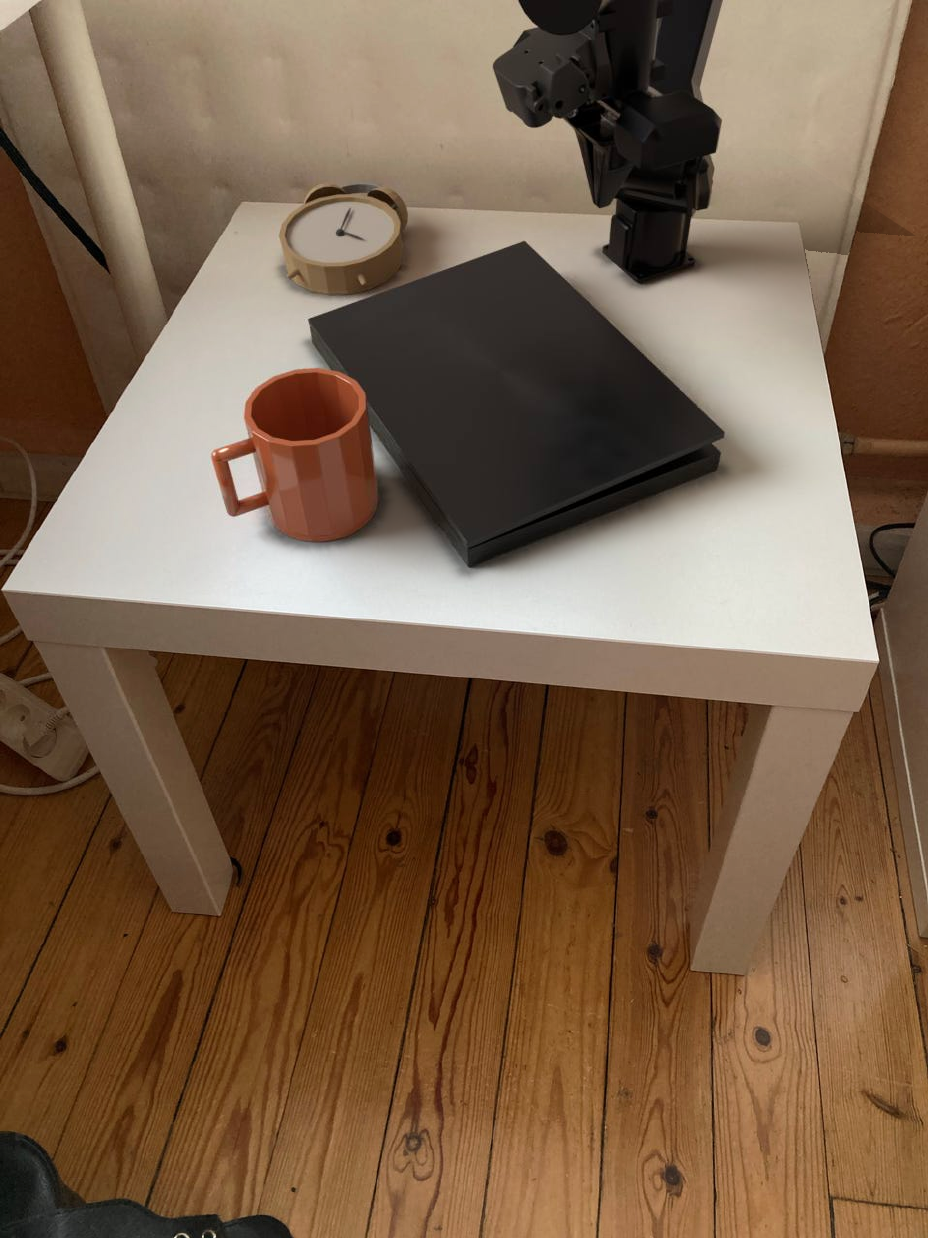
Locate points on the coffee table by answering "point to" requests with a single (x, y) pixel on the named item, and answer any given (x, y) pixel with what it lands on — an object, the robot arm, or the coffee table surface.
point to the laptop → (562, 518)
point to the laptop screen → (509, 390)
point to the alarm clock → (344, 238)
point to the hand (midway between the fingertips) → (601, 205)
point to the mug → (306, 455)
